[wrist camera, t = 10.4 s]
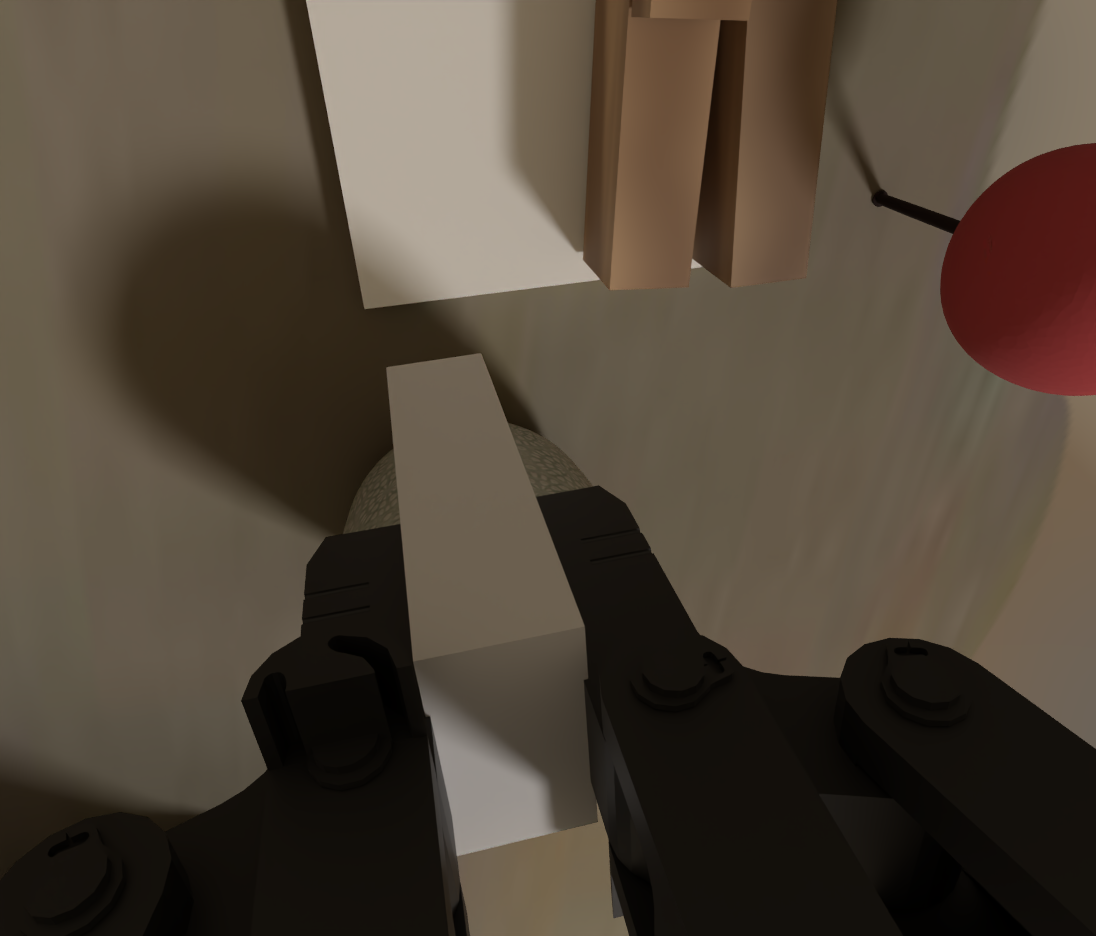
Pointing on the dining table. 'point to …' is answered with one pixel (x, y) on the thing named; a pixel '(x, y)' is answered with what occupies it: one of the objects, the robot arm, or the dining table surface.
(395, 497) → the planter
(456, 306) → the dining table surface
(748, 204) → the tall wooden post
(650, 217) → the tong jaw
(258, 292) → the dining table surface
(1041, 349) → the lollipop
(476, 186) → the board
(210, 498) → the dining table surface
